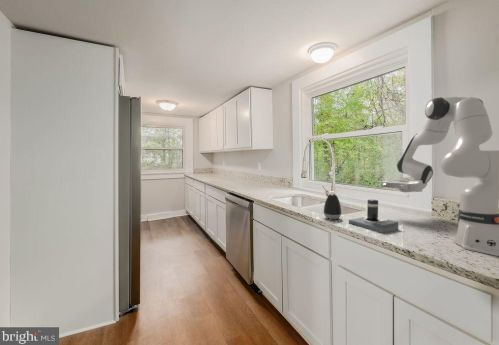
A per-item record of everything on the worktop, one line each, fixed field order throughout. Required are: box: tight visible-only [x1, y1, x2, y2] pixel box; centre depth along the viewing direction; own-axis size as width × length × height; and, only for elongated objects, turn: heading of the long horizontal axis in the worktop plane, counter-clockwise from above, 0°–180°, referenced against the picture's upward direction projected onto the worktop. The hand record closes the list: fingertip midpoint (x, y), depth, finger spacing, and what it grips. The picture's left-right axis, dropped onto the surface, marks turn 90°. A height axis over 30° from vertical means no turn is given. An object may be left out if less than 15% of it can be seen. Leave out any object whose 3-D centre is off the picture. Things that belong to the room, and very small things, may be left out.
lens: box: [366, 199, 379, 222], centre depth 124 cm, size 5×5×12 cm
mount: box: [348, 216, 399, 234], centre depth 124 cm, size 20×12×4 cm, turn 28°
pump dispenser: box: [323, 193, 342, 220], centre depth 140 cm, size 10×10×15 cm
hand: (392, 185), depth 131 cm, fingers open, 8 cm apart
